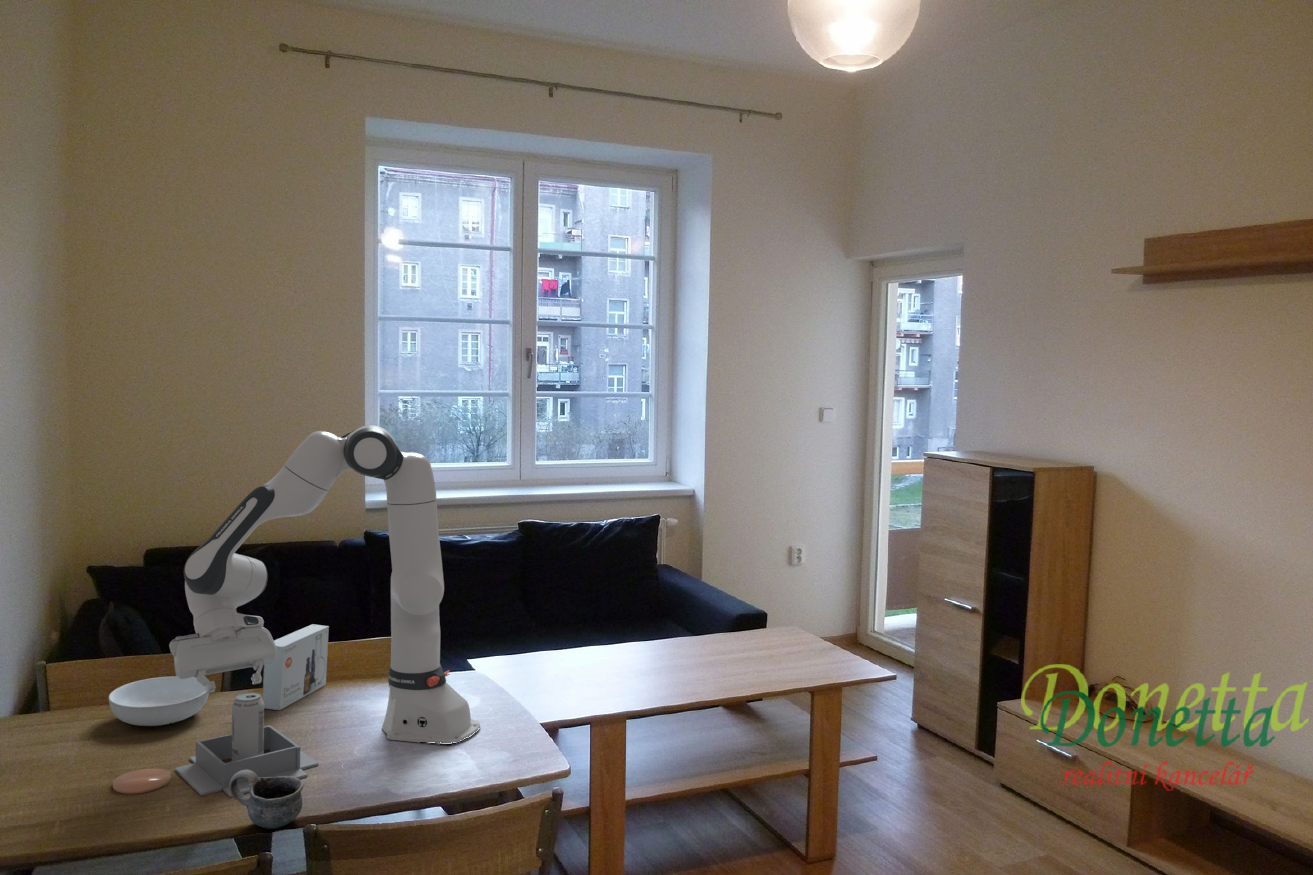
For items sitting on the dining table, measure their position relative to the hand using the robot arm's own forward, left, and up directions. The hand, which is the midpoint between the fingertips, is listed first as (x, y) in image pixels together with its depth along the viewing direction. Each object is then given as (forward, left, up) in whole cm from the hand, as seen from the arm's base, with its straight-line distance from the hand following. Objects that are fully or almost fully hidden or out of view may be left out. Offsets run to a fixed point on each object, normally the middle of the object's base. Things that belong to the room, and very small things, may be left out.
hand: (235, 686), depth 202 cm
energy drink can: (-7, +3, -15) cm, 17 cm away
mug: (-28, +21, -15) cm, 38 cm away
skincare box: (+14, -36, -15) cm, 41 cm away
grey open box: (-7, +3, -15) cm, 17 cm away
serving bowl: (+31, -10, -15) cm, 36 cm away
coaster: (+6, +17, -15) cm, 24 cm away
